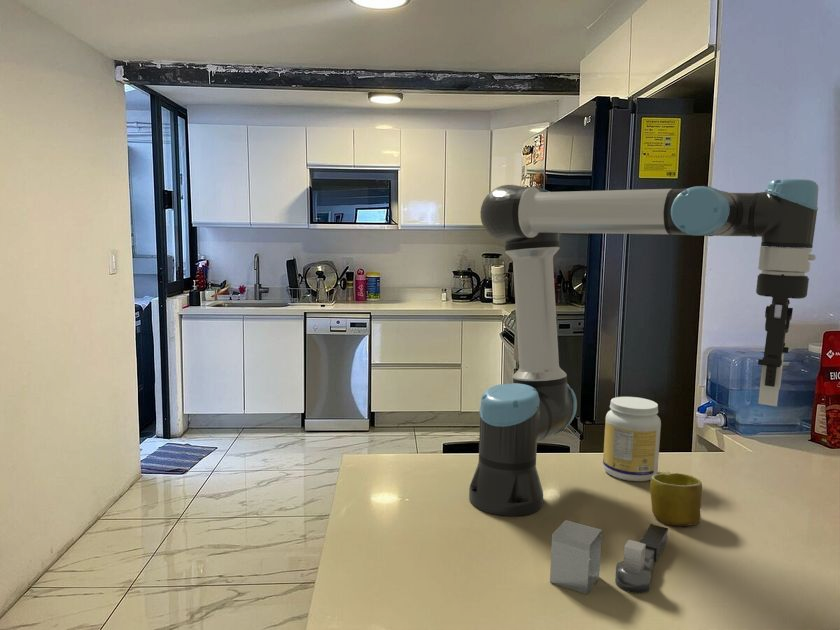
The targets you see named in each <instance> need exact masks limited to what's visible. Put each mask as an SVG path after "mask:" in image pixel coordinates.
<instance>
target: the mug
mask: <svg viewBox="0 0 840 630" xmlns="http://www.w3.org/2000/svg"><path fill="white" fill-rule="evenodd" d="M649 481H650V482H649V491H650V499H651V501H650V503H651V510H652V511H651V512H652V514H653V516H654V517H655V519H656V520H658V521H659V522H661V523H663V524H664V525H671V526H676V527H677V526H678V527H679V526H682V527H683V526H685V527H686V526H690V525H691V526H693V525H696V524H699V523H700V521H701V509H702V508H701V507H702V496H703V484H702V481H701V479H699V478H697V477H695V476H693V475H691V474H686V473H679V472H678V473H677V472H674V473H672V472H670V471H669V470H660V471H659V472H657V474H656V475H653V476H652V477H651V480H649Z"/></svg>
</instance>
